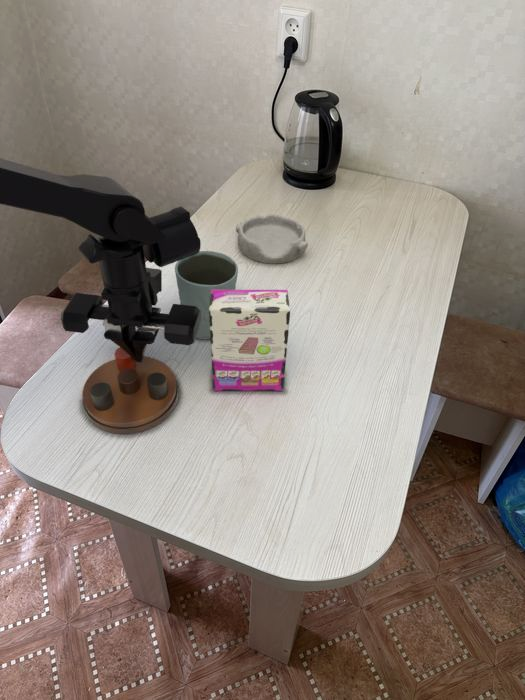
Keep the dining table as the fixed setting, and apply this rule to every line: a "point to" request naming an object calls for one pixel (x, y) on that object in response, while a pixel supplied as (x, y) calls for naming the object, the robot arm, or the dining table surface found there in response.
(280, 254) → the dish
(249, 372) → the candy bar box
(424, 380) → the dining table surface
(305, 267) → the dining table surface
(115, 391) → the spice rack
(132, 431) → the base
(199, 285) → the grey green pot
